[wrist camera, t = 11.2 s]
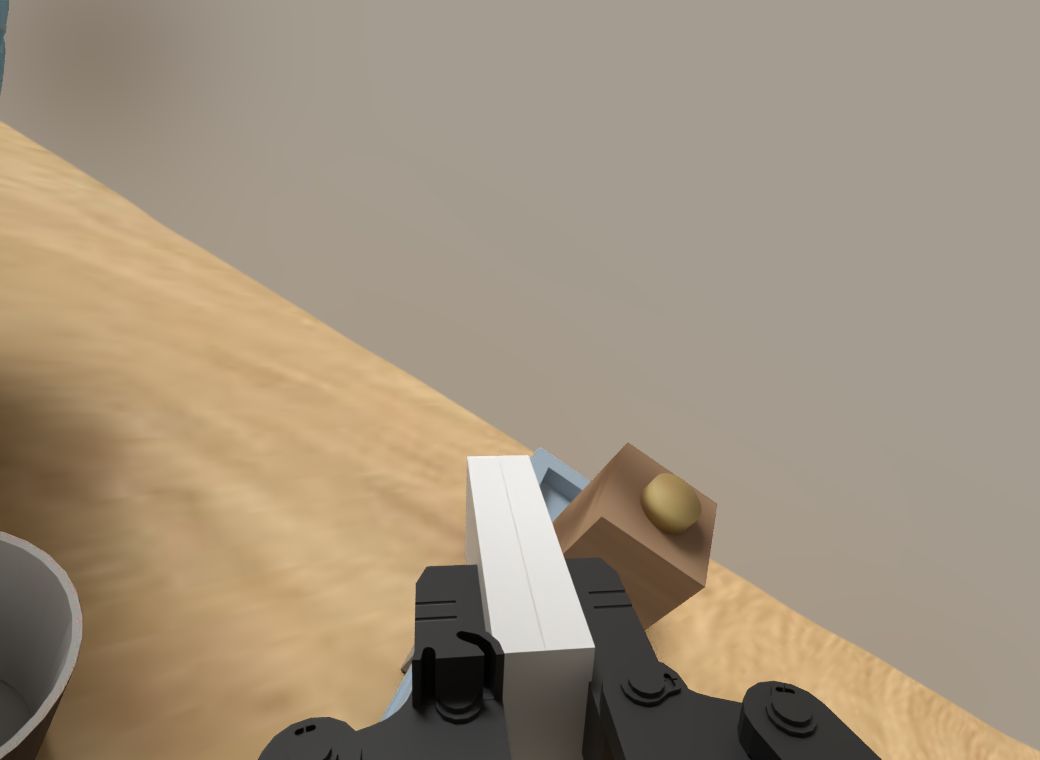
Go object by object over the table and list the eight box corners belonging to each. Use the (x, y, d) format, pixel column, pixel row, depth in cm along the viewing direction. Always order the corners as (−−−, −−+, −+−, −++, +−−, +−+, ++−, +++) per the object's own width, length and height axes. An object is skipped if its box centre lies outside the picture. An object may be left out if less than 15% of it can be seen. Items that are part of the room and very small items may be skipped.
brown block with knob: (548, 698, 34) (721, 575, 25) (469, 645, 33) (615, 502, 25) (574, 621, 37) (731, 491, 29) (504, 573, 37) (640, 429, 29)
